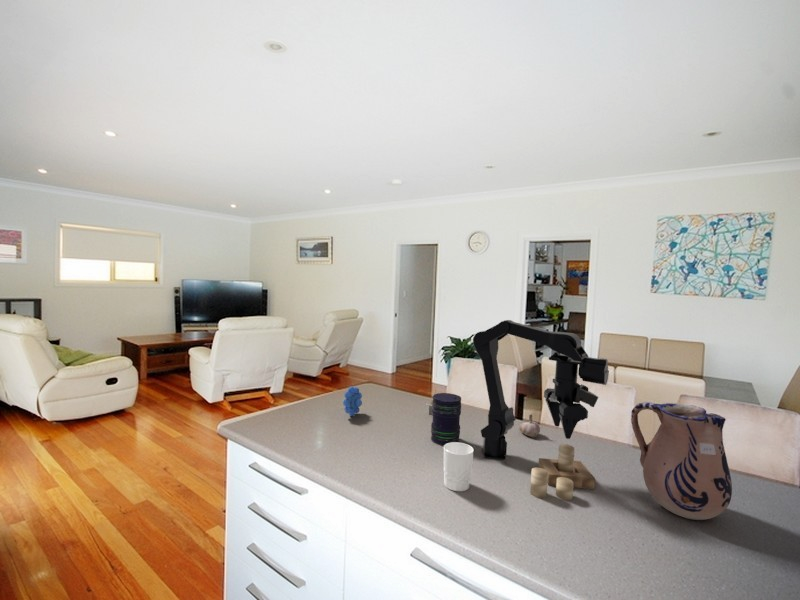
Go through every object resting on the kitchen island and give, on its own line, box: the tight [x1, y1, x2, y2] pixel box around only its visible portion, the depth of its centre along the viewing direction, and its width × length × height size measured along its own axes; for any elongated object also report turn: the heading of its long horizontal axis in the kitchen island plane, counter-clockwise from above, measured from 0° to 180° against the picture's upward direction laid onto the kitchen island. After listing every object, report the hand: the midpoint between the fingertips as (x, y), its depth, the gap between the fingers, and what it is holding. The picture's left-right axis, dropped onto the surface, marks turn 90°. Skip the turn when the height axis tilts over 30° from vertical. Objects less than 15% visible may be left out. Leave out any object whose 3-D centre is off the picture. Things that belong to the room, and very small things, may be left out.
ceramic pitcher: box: [630, 401, 733, 521], centre depth 97 cm, size 18×21×25 cm
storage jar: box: [430, 392, 462, 447], centre depth 133 cm, size 10×10×15 cm
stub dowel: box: [555, 477, 574, 501], centre depth 101 cm, size 4×4×4 cm
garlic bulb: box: [518, 413, 541, 438], centre depth 142 cm, size 8×7×8 cm
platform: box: [425, 399, 433, 417], centre depth 158 cm, size 12×18×7 cm, turn 55°
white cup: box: [443, 441, 475, 492], centre depth 104 cm, size 8×8×10 cm
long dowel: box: [557, 443, 575, 473], centre depth 110 cm, size 4×4×9 cm
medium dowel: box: [529, 467, 548, 499], centre depth 101 cm, size 4×4×6 cm
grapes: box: [342, 386, 363, 417], centre depth 153 cm, size 12×7×12 cm, turn 153°
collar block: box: [537, 457, 596, 490], centre depth 110 cm, size 12×10×3 cm
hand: (562, 432), depth 111 cm, fingers open, 9 cm apart
